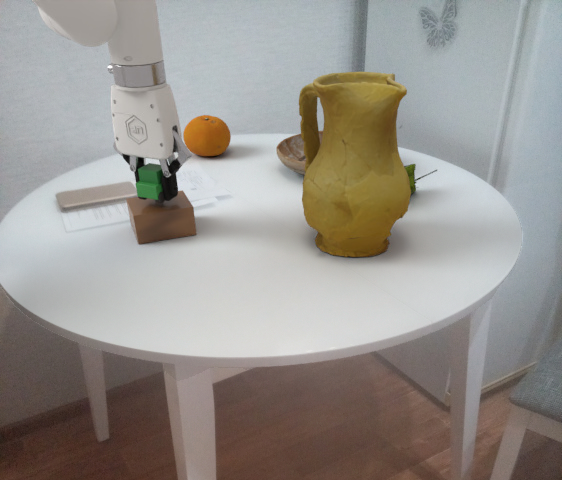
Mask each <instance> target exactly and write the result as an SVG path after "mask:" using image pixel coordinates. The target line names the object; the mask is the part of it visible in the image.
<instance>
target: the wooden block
mask: <svg viewBox="0 0 562 480" xmlns="http://www.w3.org/2000/svg"><path fill="white" fill-rule="evenodd" d="M125 202H126V205H127V211H128V216H129V222H130V225H131V229H132V232H133V234H134V236H135V239H136V242H137V244H138V245H142V244H148V243H154V242H161V241H167V240H173V239H180V238H184V237H190V236H191V237H192V236H196V235H197V226H196V217H195V210H194V209H195V208H194V206H193V204H192V202H191V201H190V199H189V197H188V196H187V195H186V193H185V191H184V190H178V195H177V196H176V197H174V198H173V199H171V200H170V201H164V202H163V203H159V202H156V201H155V199H150V198H147V199H146V200H143V199H139V198H138V196H133V197H126V198H125Z"/></svg>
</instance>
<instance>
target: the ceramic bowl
mask: <svg viewBox="0 0 562 480" xmlns="http://www.w3.org/2000/svg"><path fill="white" fill-rule="evenodd" d="M322 136H323V130H319V138H320V144H321V141H322ZM275 151H276V155H277V157H278V159H279V161H280V162H281V163H282V164H283V165H284V166H285V167H286V168H288V169H290V170H291V171H293V172H295V173H298V174H301V175H302V176H305V174H306V172H305V162H306V157H305V155H304V141H303V140H302V138H301V133H297V134H293V135H291V136H289V137H286V138H284V139H283V140H281V141H279V143H278V144H277V146H276V149H275Z"/></svg>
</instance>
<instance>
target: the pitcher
mask: <svg viewBox="0 0 562 480" xmlns="http://www.w3.org/2000/svg"><path fill="white" fill-rule="evenodd" d="M407 93H408V90H407V88H406V86H405V85H403V84H401V83H400V82H397V81H396V75H395V73H386V72H383V73H382V72H375V71H347V72H330V73H327V74H322V75H320V76H317V77H316V78H314V79H313V81H312V82H310V83H308V84H306V85H304V86H303V87H302V88H301V90H300V92H299V97H298V115H299V116H300V117H301V119H300V126H299V127H300V134H301V138H302V140H303V141H304V155H305V157H306V162H305V172H306V174H305V175H303V179H302V180H303V181H302V196H301V203H302V208H303V215H304V219H305V221H306V224H307V225H308V226H309V228H311V229H313V230H314V231H316V232H317V234H316V237H315V238H314V244H315V246H316V248H318V249H320V250H319V251H321V252H324V253H327V254H328V255H332V256H338V257H344V258H347V257H349V258H350V257H352V258H359V257H361V258H364V257H366V258H368V257H374V256H378V255H380V254H383V253H385V252H387V251H388V250H389V245H390V240H389V239H388V237H391V236H392V233H391V230H392V228H393V226H394V224H395V223H396V221H398V220H400V219H403V217H404V216H406V213H408V211H409V205H410V200H411V195H412V193H411V190H410V182H409V177H408V174H407V171H406V169H405V167H404V166H405V165H404V163H403V161H402V158H401V156H400V152H399V145H398V135H397V134H398V132H397V131H398V130H397V119H398V113H399V111H398V109H399V108H400V104H401V101H402V100H403V98H404V97H406V95H407ZM318 99H319V103H320V106H321V108H322V113H323V128H322V131H323V136H322V141H321V144H320V138H319V131H320V130H319V122H318Z"/></svg>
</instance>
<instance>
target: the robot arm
mask: <svg viewBox="0 0 562 480" xmlns="http://www.w3.org/2000/svg"><path fill="white" fill-rule="evenodd" d="M30 1H31V2H33V3H34V4H35V5H36V6H37V10H38V13H39V16H40V17H41V19H42V21H43V22H44V24H45V25H46V26H47V27H48V28H49V29H50V30H51V31H52V32H54V33H55V34H56V35H58V36H60V37H63V38H64V39H67V40H69V41H72V42H74V43H76V44H78V45H80V46H83V47H89V48H94V47H100V46H102V45H104V44H106V43H107V47H108V53H109V58H110V63H108V65H107V71H108V73H109V74H111V75H113V81H114V83H113V84H111V86H110V113H111V122H112V129H113V136H114V142H113V145H112V147H113V150H114V151H116V153H118V154H119V155H120V156H121V157H122V158H123V160H124V161H125V163H127V165H128V166H129V170H130V171H131V172H132V173H133V174H134V178H135V184H136V183H137V182H139V181H140V179H139V173H138V169H139V168H141V167H143V166H145V165H147V163H146V162H147V159H150V160H157V161H158V162H159V165H161V168H162V171H163V174H164V176H163V177H161V181H162V188H163V194H164V199H165V201H170V200H171V199H173V198H174V197H176V196H177V195H178V191H179V186H178V178H177V173H178V172H179V171H180V169H181V167H182V166H183V165H184V164H185V163H187V162H188V161H189V160H191V159H192V158H193V157H192V152H191V151H190V150H189V149H188V148H187V147H186V145H185V142H184V140H183V136H182V129H181V123H180V117H179V113H178V109H177V105H176V100H175V96H174V94H173V90H172V88H171V85H170V84H169V83H167V76H166V68H165V60H164V53H163V46H162V39H161V38H162V37H161V29H160V23H159V15H158V6H157V0H30ZM175 153H177V157H176V155H175Z"/></svg>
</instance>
